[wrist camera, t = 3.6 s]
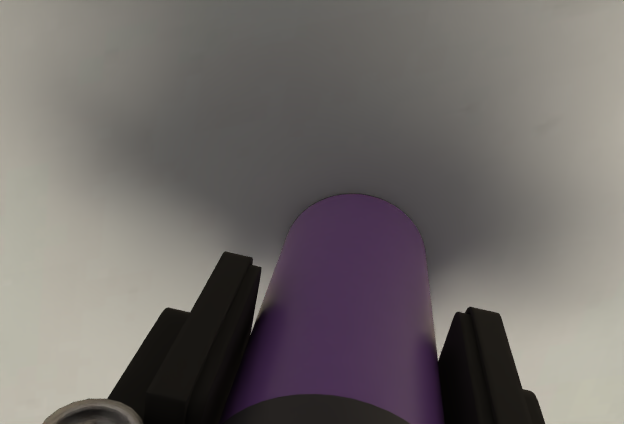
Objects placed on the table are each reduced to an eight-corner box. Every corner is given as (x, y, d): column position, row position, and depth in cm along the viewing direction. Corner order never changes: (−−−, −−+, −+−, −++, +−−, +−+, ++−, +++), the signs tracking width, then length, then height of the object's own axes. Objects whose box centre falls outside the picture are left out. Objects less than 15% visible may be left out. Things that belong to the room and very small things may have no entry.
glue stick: (293, 173, 14) (153, 495, 6) (448, 208, 14) (532, 587, 6) (269, 303, 15) (133, 701, 7) (408, 335, 15) (427, 776, 7)
